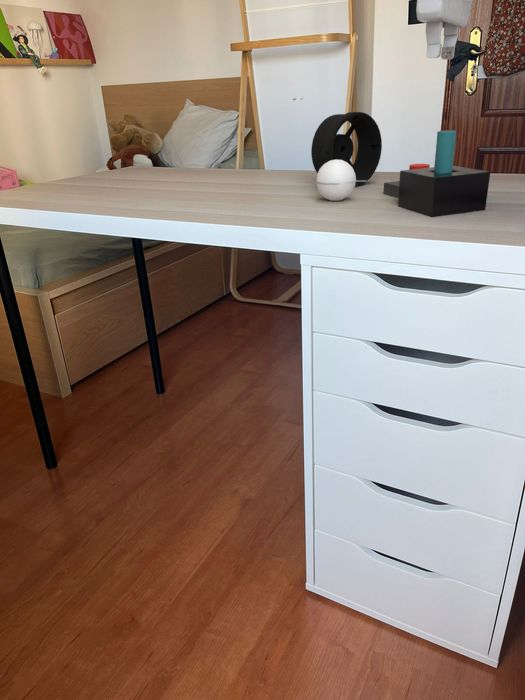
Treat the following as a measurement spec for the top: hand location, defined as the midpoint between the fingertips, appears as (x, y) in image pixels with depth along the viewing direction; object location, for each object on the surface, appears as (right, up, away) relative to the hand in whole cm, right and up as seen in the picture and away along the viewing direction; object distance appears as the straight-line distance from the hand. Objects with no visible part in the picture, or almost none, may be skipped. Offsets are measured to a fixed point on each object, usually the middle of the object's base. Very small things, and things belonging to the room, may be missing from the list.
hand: (440, 58), depth 84 cm
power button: (+1, -14, +15) cm, 20 cm away
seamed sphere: (-14, -19, +14) cm, 27 cm away
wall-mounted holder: (-11, -11, +31) cm, 35 cm away
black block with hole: (+1, -23, +4) cm, 23 cm away
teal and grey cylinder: (+1, -23, +4) cm, 23 cm away
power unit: (+1, -17, +16) cm, 23 cm away
